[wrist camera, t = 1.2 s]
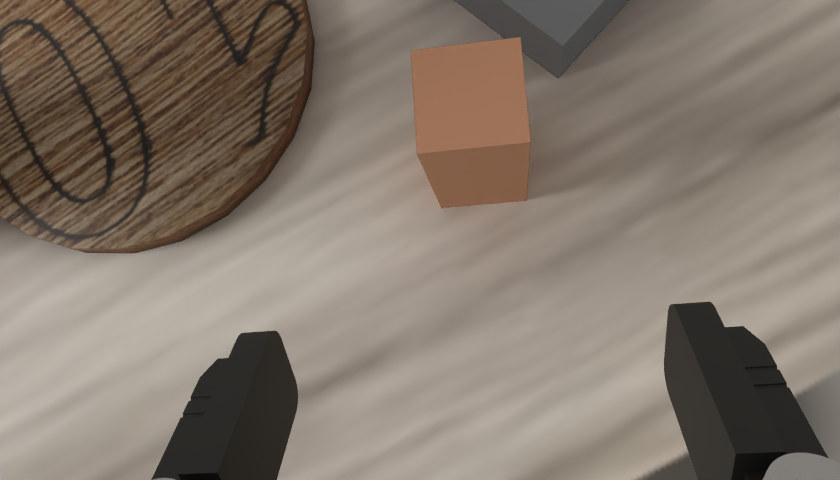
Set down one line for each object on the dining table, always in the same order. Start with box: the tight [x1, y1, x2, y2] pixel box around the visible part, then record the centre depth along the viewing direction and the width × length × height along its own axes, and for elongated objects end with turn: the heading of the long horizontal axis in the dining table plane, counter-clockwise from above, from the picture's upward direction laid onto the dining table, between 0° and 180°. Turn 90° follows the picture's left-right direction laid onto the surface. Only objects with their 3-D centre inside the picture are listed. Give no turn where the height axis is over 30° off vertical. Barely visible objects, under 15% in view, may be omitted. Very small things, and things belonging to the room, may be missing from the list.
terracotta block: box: [411, 37, 531, 208], centre depth 34 cm, size 5×5×10 cm
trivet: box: [0, 0, 315, 253], centre depth 43 cm, size 25×25×2 cm
